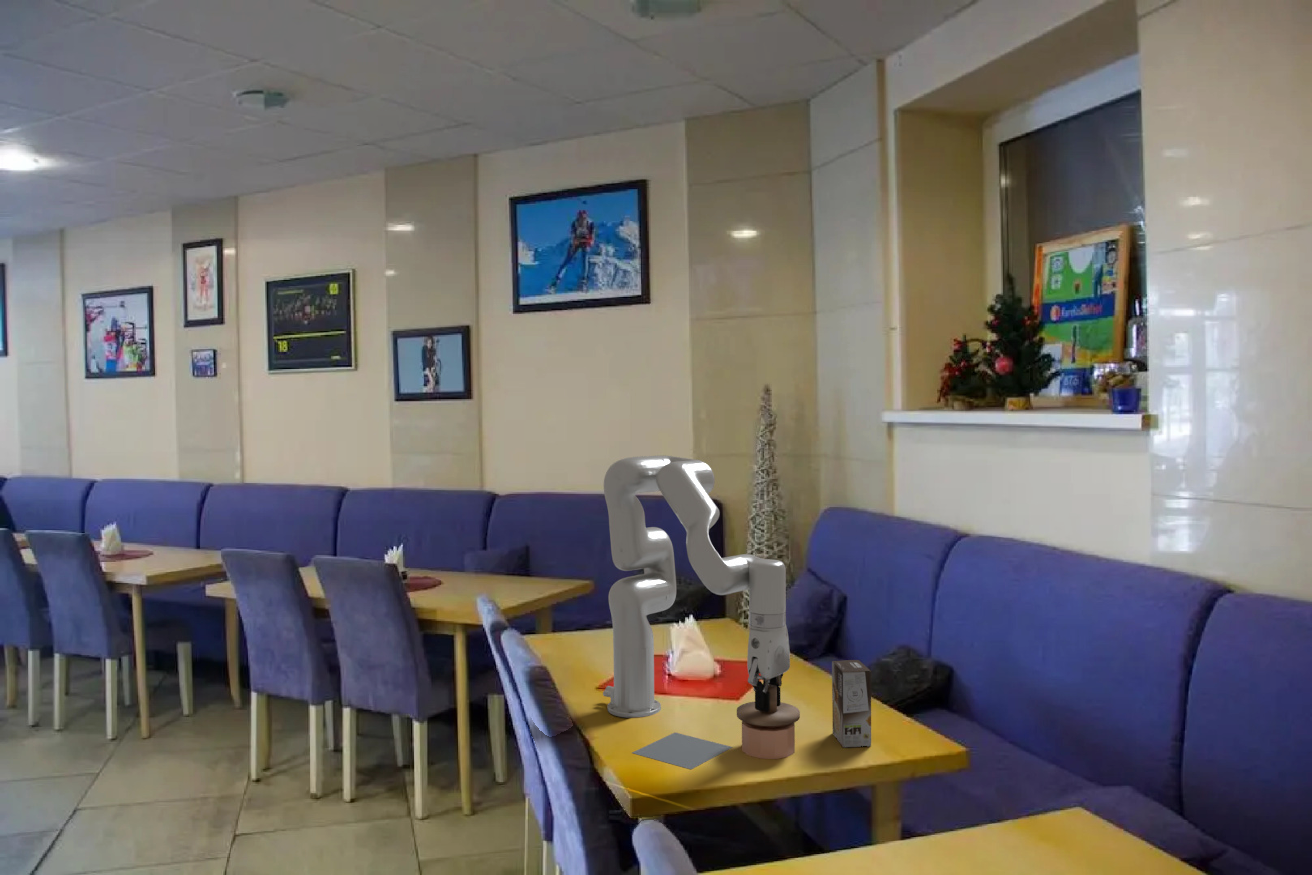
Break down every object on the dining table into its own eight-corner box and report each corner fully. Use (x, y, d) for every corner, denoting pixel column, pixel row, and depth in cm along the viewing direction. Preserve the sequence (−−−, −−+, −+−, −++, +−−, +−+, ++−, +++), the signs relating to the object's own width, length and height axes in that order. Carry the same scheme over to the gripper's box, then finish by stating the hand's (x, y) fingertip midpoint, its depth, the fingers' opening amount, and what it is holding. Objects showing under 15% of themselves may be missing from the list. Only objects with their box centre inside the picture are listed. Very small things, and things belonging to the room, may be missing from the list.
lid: (724, 717, 194) (724, 689, 194) (757, 701, 204) (757, 674, 204) (780, 730, 186) (780, 700, 186) (810, 713, 197) (810, 684, 196)
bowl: (732, 752, 195) (732, 723, 194) (759, 737, 203) (759, 710, 203) (777, 764, 188) (777, 734, 188) (804, 748, 197) (803, 720, 196)
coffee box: (872, 746, 197) (872, 670, 197) (842, 748, 197) (842, 671, 196) (859, 731, 206) (859, 659, 206) (830, 732, 206) (830, 660, 205)
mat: (631, 754, 194) (631, 752, 194) (675, 734, 206) (674, 732, 206) (691, 771, 185) (691, 769, 185) (732, 748, 197) (732, 746, 197)
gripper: (762, 630, 186) (762, 722, 186) (803, 614, 199) (803, 700, 200) (730, 625, 190) (730, 714, 191) (772, 610, 204) (772, 694, 204)
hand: (767, 706), depth 195 cm, fingers closed on lid, 3 cm apart
